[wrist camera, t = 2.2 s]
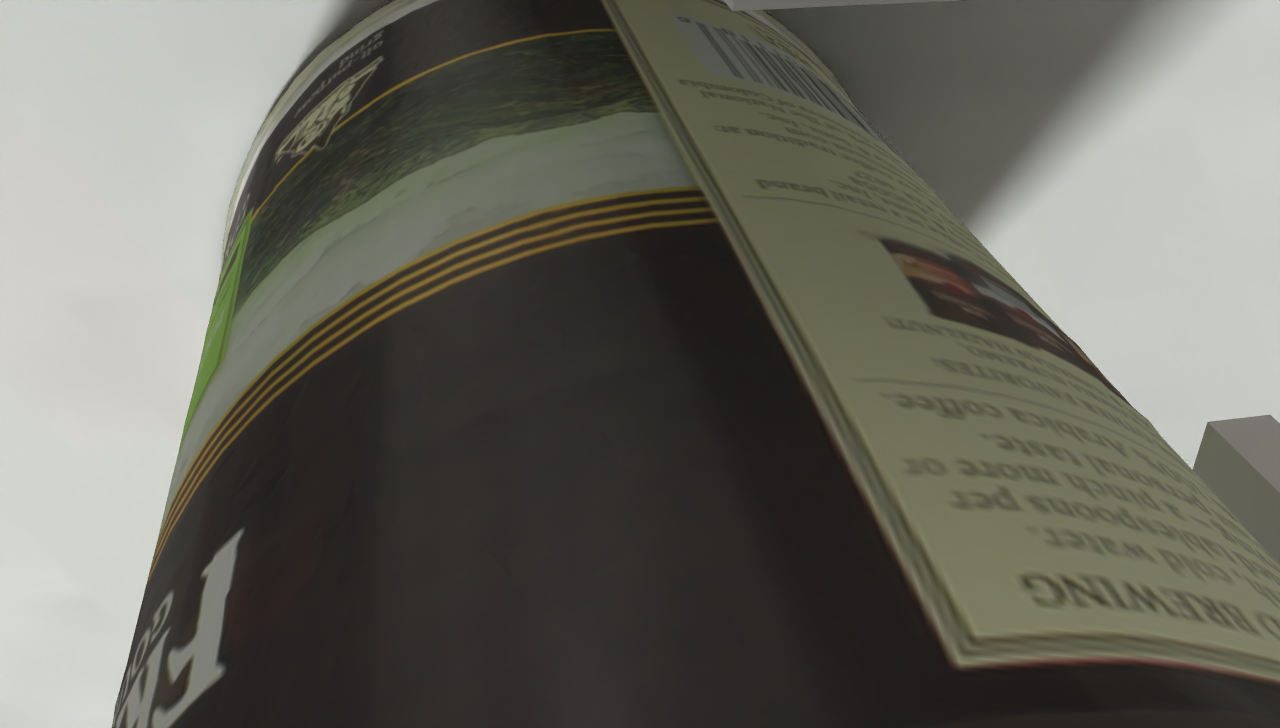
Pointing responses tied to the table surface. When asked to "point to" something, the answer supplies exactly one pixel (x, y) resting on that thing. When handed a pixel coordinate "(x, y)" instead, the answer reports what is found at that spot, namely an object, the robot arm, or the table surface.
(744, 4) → the mounted module
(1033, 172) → the table surface
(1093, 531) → the coffee can
